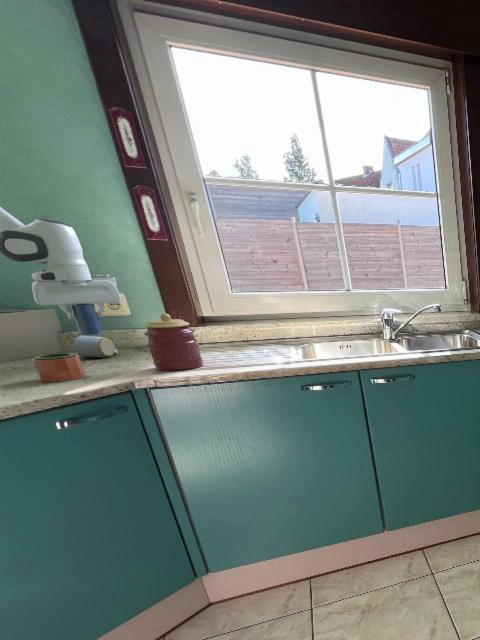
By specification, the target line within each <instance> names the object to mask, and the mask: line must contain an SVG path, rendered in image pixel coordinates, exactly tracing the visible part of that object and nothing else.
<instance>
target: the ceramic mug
mask: <svg viewBox="0 0 480 640" xmlns="http://www.w3.org/2000/svg"><path fill="white" fill-rule="evenodd" d="M73 348H74V352H76V354H77V355H78V356H79V357H82V358H85V359H86V358H89V359H92V358H93V359H94V358H100V359H104V358H110V357H112V356H113V355H118V353H119V350H118V349H117V348H116V346H115V344H114V342H113V341H112V340H111V339H109V338H107V337H103V336H94V335H78V336H76V338H75V339H74V341H73Z"/></svg>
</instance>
